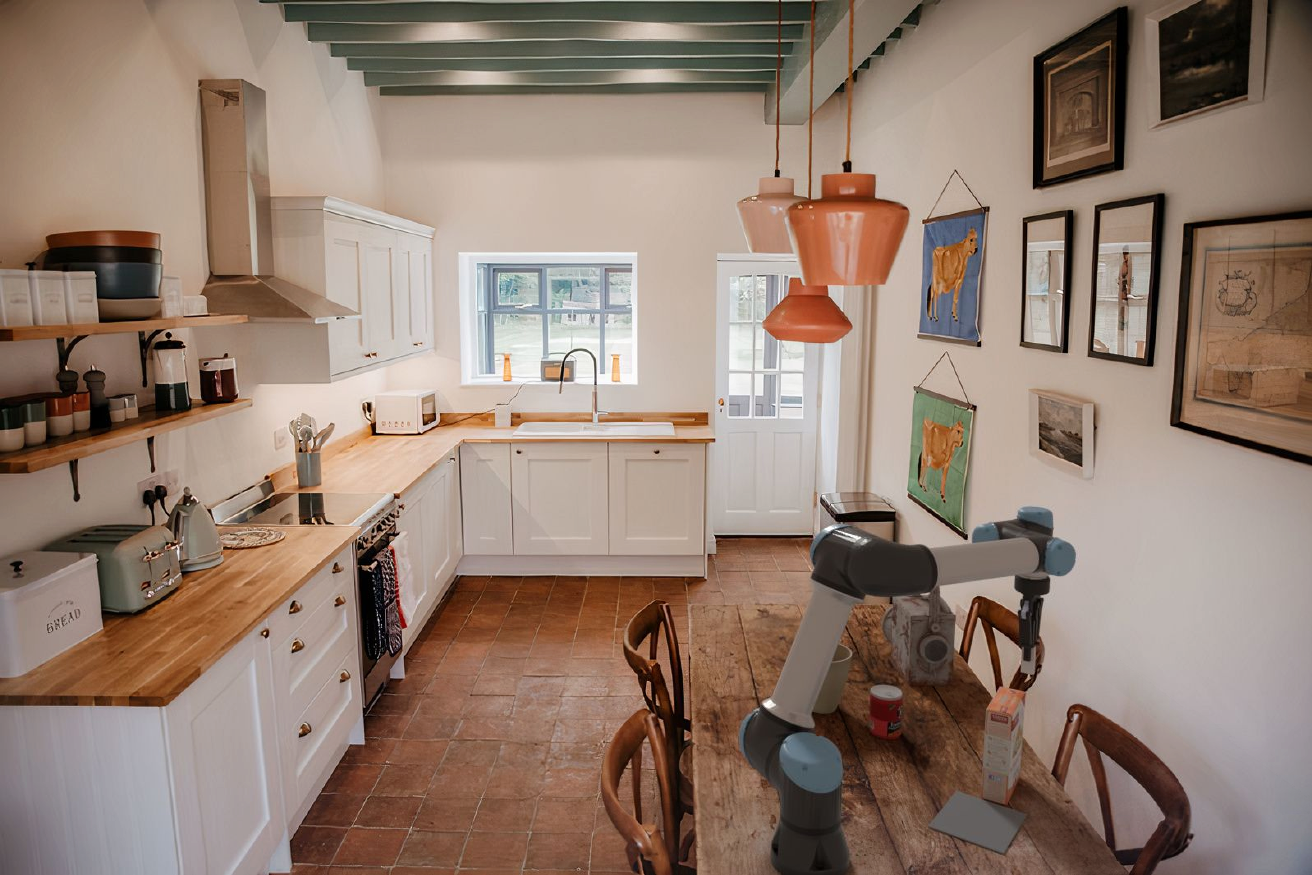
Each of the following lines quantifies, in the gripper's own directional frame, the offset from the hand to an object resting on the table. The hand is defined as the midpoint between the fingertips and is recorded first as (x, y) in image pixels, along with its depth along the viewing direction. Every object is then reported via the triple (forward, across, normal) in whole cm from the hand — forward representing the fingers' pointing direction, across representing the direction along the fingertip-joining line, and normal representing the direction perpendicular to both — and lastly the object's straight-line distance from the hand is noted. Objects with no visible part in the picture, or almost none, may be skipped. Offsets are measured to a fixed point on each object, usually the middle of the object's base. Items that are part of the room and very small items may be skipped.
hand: (1027, 672), depth 204 cm
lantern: (+22, +34, +39) cm, 56 cm away
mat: (+21, -32, 0) cm, 38 cm away
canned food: (+22, -7, +31) cm, 39 cm away
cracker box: (+22, -16, 0) cm, 27 cm away
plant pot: (+21, -4, +50) cm, 55 cm away
